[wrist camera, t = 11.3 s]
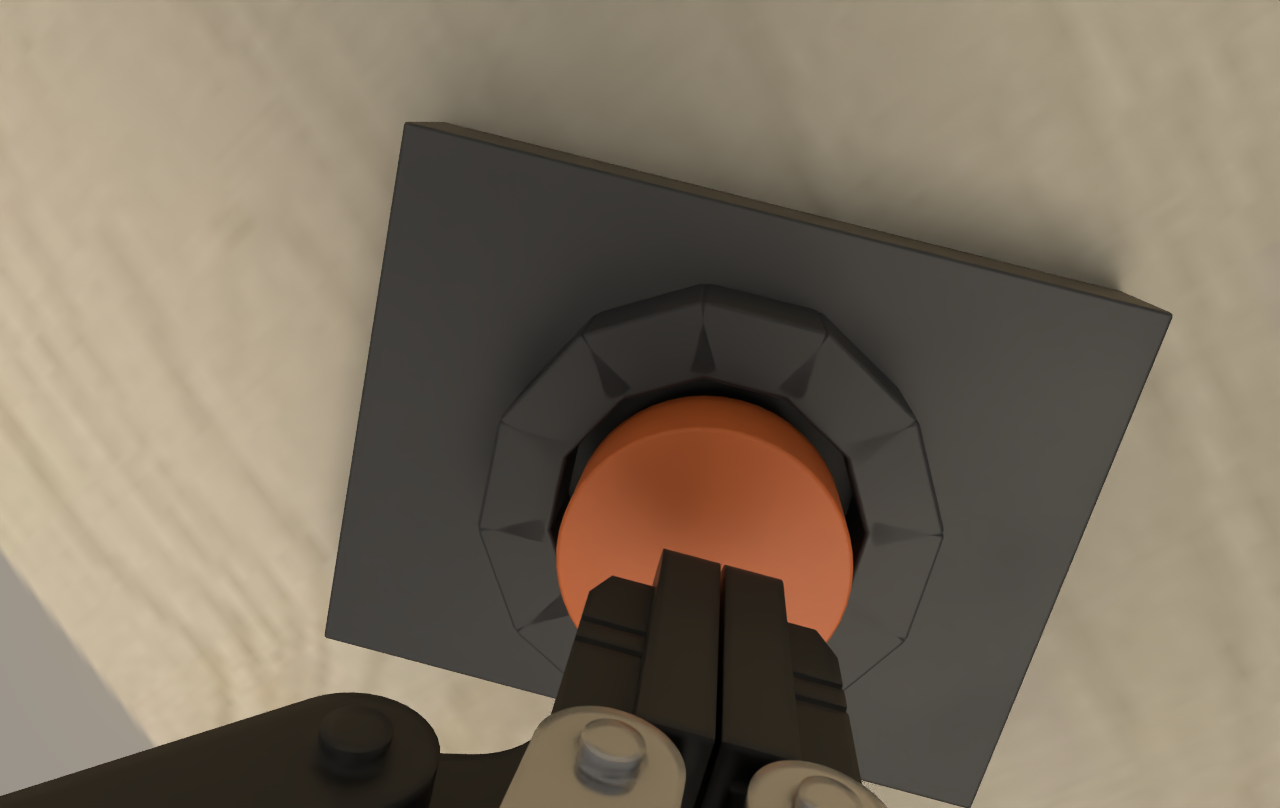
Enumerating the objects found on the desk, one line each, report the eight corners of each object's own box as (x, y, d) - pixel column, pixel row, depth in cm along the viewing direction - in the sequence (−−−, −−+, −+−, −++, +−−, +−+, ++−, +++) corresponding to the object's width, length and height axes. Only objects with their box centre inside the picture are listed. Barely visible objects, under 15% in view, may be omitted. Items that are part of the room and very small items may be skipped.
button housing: (1123, 291, 18) (1230, 337, 14) (947, 740, 21) (994, 881, 17) (442, 121, 18) (363, 120, 14) (364, 586, 21) (281, 690, 17)
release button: (876, 433, 15) (893, 471, 13) (798, 669, 16) (805, 731, 15) (606, 364, 15) (589, 394, 14) (550, 604, 17) (529, 658, 15)
